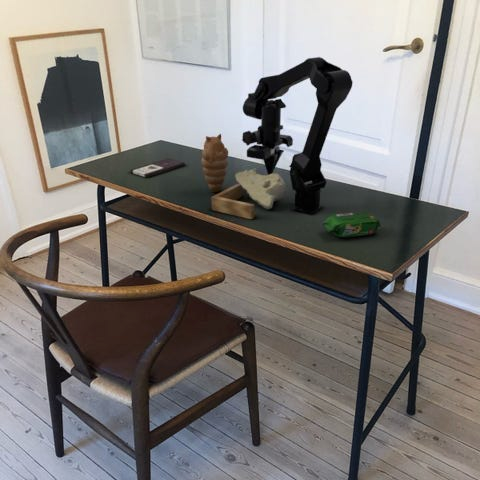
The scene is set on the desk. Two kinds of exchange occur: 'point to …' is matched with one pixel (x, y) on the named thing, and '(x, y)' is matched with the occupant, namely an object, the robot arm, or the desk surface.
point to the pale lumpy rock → (262, 187)
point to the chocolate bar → (157, 167)
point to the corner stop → (232, 203)
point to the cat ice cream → (214, 162)
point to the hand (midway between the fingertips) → (269, 174)
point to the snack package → (352, 224)
